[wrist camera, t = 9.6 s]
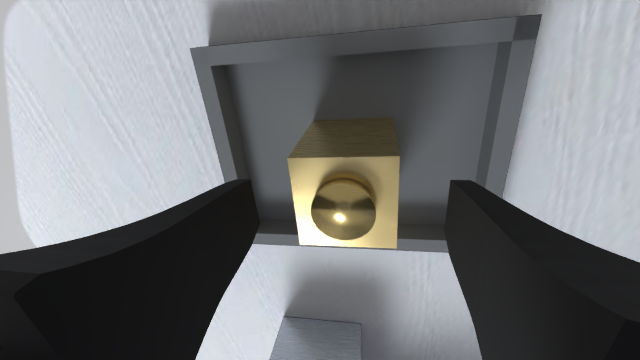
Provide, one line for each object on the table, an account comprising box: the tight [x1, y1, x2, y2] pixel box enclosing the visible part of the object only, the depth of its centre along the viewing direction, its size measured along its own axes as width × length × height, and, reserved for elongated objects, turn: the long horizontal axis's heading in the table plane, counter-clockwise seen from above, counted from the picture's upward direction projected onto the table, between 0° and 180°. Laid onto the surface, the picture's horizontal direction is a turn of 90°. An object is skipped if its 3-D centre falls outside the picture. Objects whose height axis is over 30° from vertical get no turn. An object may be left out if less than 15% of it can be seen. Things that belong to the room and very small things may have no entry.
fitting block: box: [287, 117, 400, 249], centre depth 13 cm, size 4×4×6 cm
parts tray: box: [190, 14, 542, 253], centre depth 15 cm, size 14×11×2 cm
